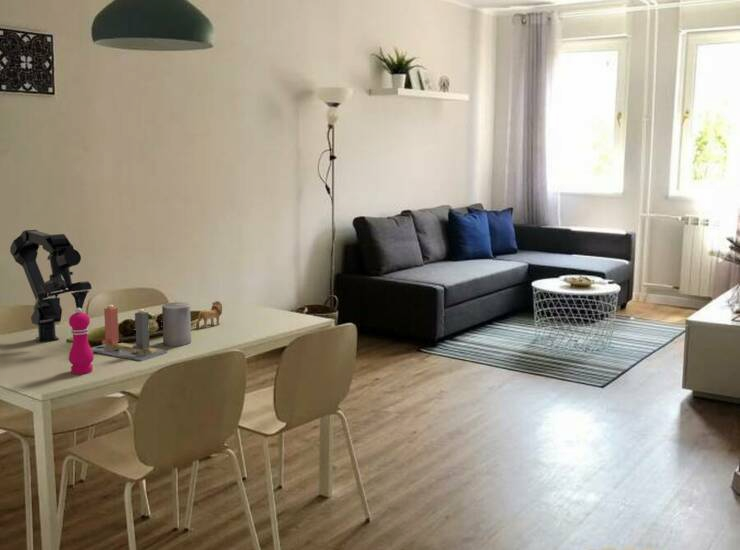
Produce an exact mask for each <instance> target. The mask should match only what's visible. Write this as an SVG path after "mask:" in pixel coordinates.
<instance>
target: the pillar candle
mask: <svg viewBox="0 0 740 550" xmlns="http://www.w3.org/2000/svg"><path fill="white" fill-rule="evenodd" d="M161 308H162V310H161V311H162V312H161V313H162V320H163V326H162V342H163V345H165V346H169V347H181V346H186V345H189V344H191V343H192V324H191V323H192V322H191V321H192V320H191V304H190V303H188V302H180V301H178V302H177V301H175V302H168V303H164V304H162V305H161Z"/></svg>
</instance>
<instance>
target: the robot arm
mask: <svg viewBox="0 0 740 550" xmlns="http://www.w3.org/2000/svg"><path fill="white" fill-rule="evenodd" d="M40 246H42V250H45V252H48V253H49V254H48V256H47V259H46V260H48V261H49V264H50V269H51V274H49V280H47V281H45V280H44V277H43V275H42V272H41V270H40V267H39V265H38V262H37V257H38V254H39V253H38V251H39V248H40ZM9 251H10V254H11V256H12V257H13V260H14V261H15V263H17V264H19V265H20V266H22V268H23V270H24V273H25V276H26V278H27V281H28V284H29V287H30V289H31V291H32V294H33V296H34V299H35V303H34V306H33V310H34V311H33V313H32V315H31V317H30V319H31V320H30V321H31V324H33V325H36V326H37V331H38V335H37V337H35V339H36V340H37V341H38V342H39V343H43V342H49V341H51V342H52V341H59V339H60V338H59V337H58V336H57V335H56V332H57V331H56V323H58V322H59V323H60V322H61V321H62V313H63V309H62V306H61V298H60V296H59V295H61V294H67V293H70V292H71V294H70V295H72V297H73V298H74V304H75V307H76V309H77V308H81V309H82V310H83V307H84V304H85V299H86V298H87V295H88V293H90V290H92V284H91V283H90V282H89V281H88V280H87V281H79V282H73V281H72V275H74V273H73V272H74V271H71V270H70V268H72V267H75V266H77V265H79V264H80V262H81V259H82V257H81V254H80V252H79V251H78V250H77V249H75V248H74V245H72V243H71V241H70V240H69V239H68V237H67V236H66V235H65V234H64V233H57V234H50V233H45V232H43V231H39V230H37V229H26V230H23V231H22V232H21V233H20V235H19V236H17V237H16V238H15V239H13V242H12V243H11V245H10V249H9Z"/></svg>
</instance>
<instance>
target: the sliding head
mask: <svg viewBox="0 0 740 550" xmlns="http://www.w3.org/2000/svg"><path fill="white" fill-rule="evenodd" d="M103 311H104V313H103V314H104V315H103V316H104V333H105V336H104V337H105V339H103V340H101V345H103V347H104V348H105V347H106V344H107V343H108V344H115V343H118V342H120V340H119V322H118V321H119V319H118V318H119V317H118V307H114V305H113V304H109V305H107V307H106V308H104V309H103Z"/></svg>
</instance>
